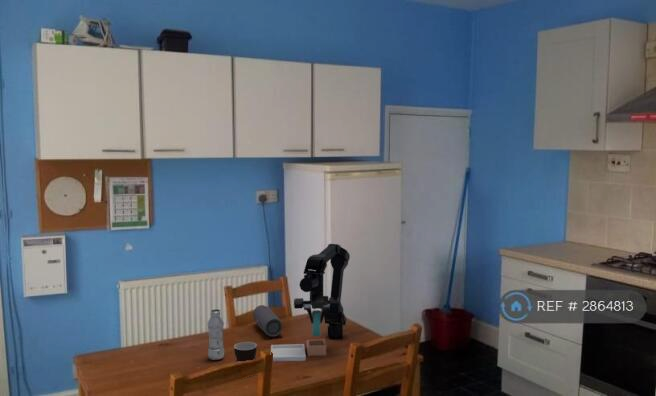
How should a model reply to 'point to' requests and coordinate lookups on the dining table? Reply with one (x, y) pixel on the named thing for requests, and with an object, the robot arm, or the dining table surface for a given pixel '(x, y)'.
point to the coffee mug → (245, 351)
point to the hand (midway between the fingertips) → (316, 323)
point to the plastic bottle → (215, 336)
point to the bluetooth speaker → (267, 320)
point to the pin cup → (316, 347)
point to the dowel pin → (316, 323)
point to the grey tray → (288, 352)
